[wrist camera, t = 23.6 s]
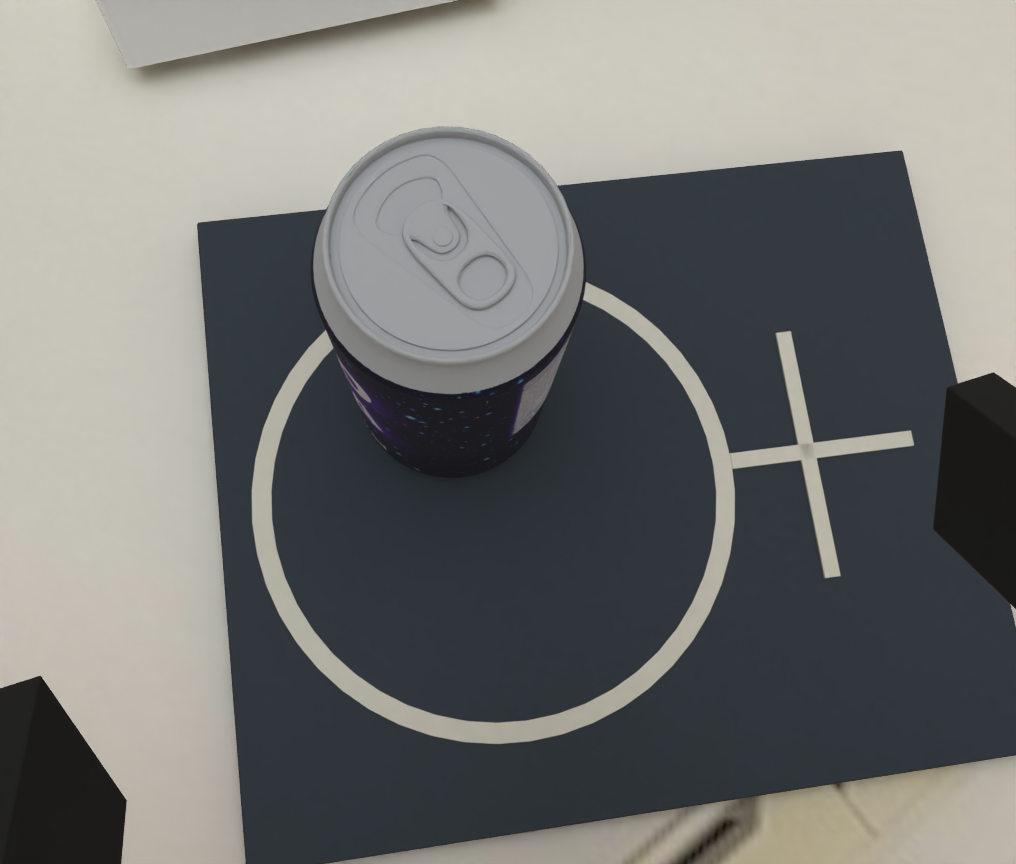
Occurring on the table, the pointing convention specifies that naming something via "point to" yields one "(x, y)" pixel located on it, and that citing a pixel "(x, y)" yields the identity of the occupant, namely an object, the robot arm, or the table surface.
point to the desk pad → (608, 534)
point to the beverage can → (449, 294)
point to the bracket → (227, 23)
